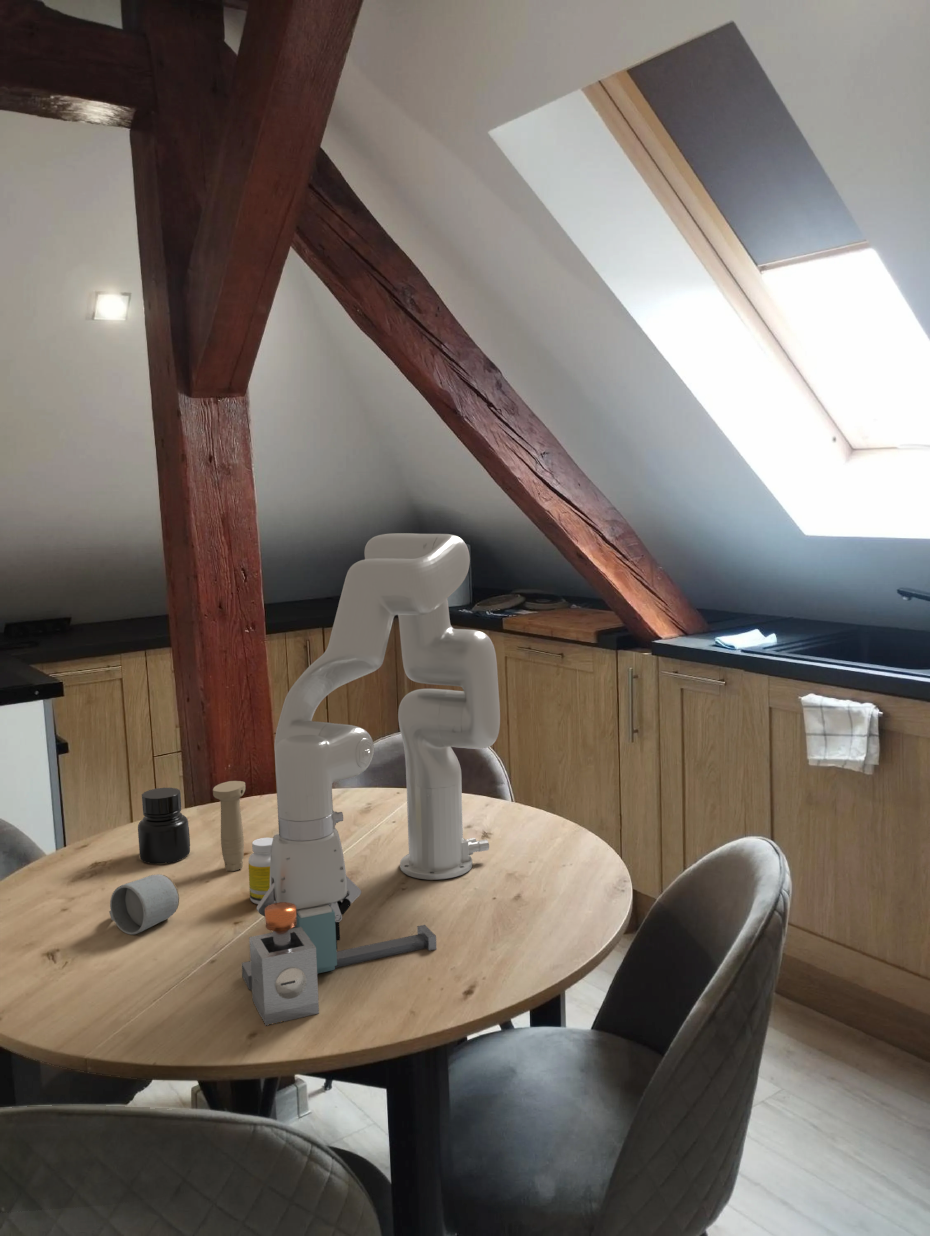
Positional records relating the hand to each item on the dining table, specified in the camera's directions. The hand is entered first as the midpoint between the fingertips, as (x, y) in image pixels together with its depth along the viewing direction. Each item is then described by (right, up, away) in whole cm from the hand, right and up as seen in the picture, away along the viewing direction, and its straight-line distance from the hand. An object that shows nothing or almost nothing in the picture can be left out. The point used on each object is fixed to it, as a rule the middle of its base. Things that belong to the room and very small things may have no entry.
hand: (312, 949), depth 152 cm
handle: (-19, +2, +39) cm, 44 cm away
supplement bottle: (-11, 0, +25) cm, 28 cm away
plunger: (-2, +1, -11) cm, 11 cm away
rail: (+4, -3, +2) cm, 5 cm away
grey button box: (-2, -5, -10) cm, 11 cm away
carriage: (0, -3, 0) cm, 3 cm away
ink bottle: (-33, +3, +46) cm, 57 cm away
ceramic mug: (-29, -2, +17) cm, 34 cm away
